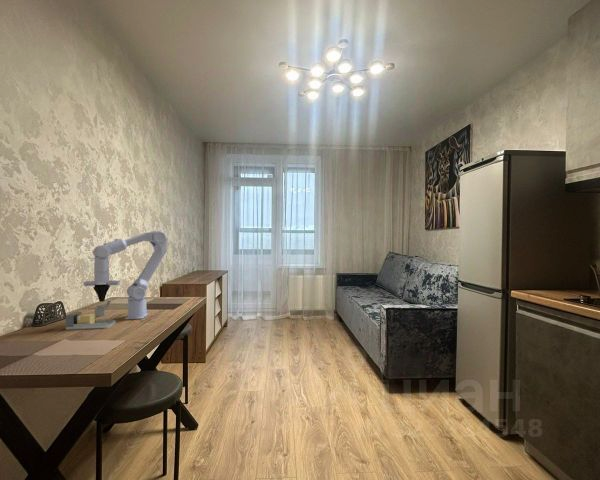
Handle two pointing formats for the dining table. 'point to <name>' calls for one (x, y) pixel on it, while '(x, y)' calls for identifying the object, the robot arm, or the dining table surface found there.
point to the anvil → (72, 319)
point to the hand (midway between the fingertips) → (102, 301)
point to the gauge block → (86, 318)
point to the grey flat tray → (93, 324)
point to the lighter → (101, 309)
